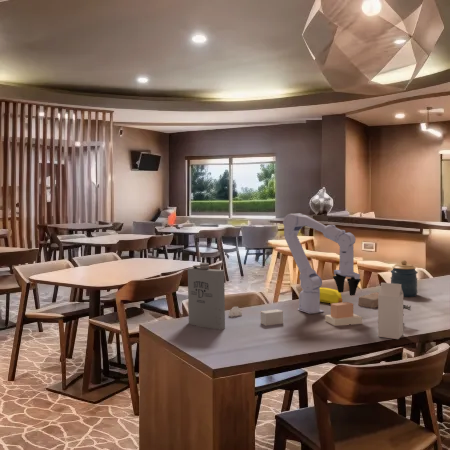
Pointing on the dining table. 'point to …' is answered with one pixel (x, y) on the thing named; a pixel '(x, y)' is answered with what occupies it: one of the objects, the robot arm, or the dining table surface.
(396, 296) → the milk carton
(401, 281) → the canister
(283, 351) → the dining table surface
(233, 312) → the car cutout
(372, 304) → the brick
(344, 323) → the cream base brick
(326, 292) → the yellow banana
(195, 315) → the flask
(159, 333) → the dining table surface
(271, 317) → the grey brick
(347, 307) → the terracotta brick
